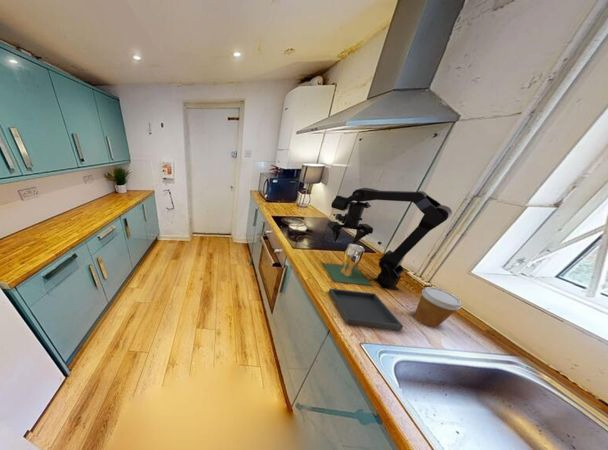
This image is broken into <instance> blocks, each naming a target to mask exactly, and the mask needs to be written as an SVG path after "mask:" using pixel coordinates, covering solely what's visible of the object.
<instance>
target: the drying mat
mask: <svg viewBox="0 0 608 450" xmlns="http://www.w3.org/2000/svg"><path fill="white" fill-rule="evenodd" d="M322 265H323V267H324V268H325V270H326V271H327V273H328V274H329V276H330V278H331V279H332V281H333V282H334V283H344V284H353V285H361V286H370V287H372V286H373V284H371V282H370V281H369V280H368V279H367V278H366V276H364V275H363V274H362V272H361V271H360V270H359V269H358V267H356V268H355V270H354V275H353V277H345V276H343V275H341V274H340V273H339V269H340V268H341V266H342V264H332V263H322Z"/></svg>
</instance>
